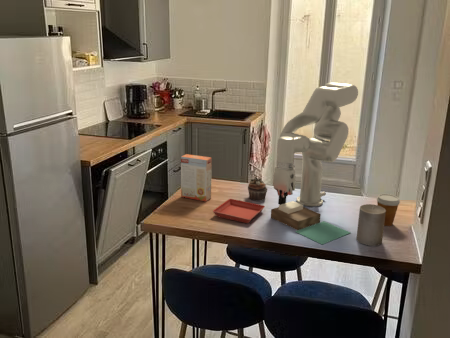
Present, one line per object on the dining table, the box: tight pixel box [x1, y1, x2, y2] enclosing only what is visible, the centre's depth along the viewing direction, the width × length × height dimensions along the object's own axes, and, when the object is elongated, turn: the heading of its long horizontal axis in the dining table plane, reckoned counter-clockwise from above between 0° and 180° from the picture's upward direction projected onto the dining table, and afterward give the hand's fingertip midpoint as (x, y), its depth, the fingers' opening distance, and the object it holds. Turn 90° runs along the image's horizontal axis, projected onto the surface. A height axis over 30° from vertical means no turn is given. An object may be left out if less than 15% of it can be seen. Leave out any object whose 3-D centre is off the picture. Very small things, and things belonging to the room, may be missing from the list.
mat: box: [294, 221, 351, 245], centre depth 177 cm, size 18×14×1 cm
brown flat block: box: [270, 206, 321, 231], centre depth 188 cm, size 14×16×4 cm
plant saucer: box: [212, 198, 265, 224], centre depth 193 cm, size 18×18×3 cm
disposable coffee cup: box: [376, 193, 401, 227], centre depth 187 cm, size 10×10×12 cm
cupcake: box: [247, 177, 268, 201], centre depth 213 cm, size 10×10×10 cm
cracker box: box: [180, 153, 213, 202], centre depth 209 cm, size 14×6×21 cm, turn 65°
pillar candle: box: [356, 203, 386, 247], centre depth 169 cm, size 10×10×15 cm
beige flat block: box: [278, 200, 304, 214], centre depth 190 cm, size 9×6×2 cm, turn 128°
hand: (282, 204), depth 194 cm, fingers closed
